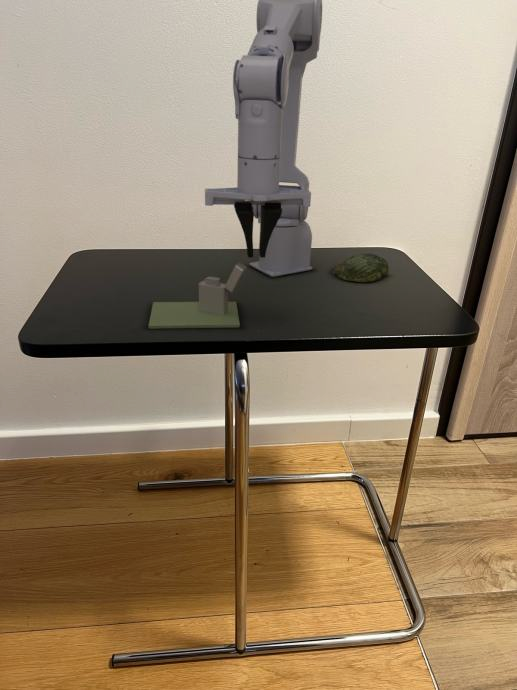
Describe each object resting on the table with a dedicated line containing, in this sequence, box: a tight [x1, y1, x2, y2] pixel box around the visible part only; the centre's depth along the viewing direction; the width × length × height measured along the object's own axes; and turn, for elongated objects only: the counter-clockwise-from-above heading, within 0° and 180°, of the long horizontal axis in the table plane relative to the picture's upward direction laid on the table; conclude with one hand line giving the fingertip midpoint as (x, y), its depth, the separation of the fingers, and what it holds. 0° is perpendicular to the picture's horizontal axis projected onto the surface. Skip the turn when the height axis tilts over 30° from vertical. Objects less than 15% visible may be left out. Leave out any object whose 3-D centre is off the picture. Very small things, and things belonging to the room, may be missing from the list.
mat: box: [148, 301, 241, 330], centre depth 82 cm, size 13×9×1 cm
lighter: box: [198, 262, 248, 315], centre depth 80 cm, size 7×2×8 cm, turn 71°
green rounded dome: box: [332, 253, 389, 283], centre depth 101 cm, size 10×4×10 cm
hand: (256, 255), depth 78 cm, fingers closed
